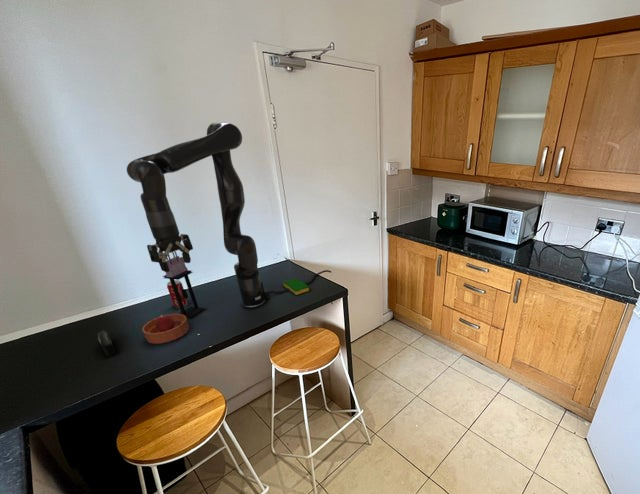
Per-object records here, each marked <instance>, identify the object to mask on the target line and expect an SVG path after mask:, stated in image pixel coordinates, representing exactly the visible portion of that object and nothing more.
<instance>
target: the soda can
mask: <svg viewBox="0 0 640 494" xmlns="http://www.w3.org/2000/svg"><path fill="white" fill-rule="evenodd" d="M174 281H175V283H176V286H177V289H178V292H179V295H180V298H181V300H182V303H183V306H184V308H185V307H186V306H188V305H189V300H188V298H186V299H185V298H183V295H182V292H181V290H183V289H185V288H184V285H183V283H182V281H180V279H179V280H176V279H174ZM166 288H167V290H168V293H169V296H170V299H171V302H172V304H173V306H174V308H176V309H180V307H179V304H178V302H177V299H176V296H175V293H174V290H173V288H172V285H171V282H170V281H168V282H167V283H166Z"/></svg>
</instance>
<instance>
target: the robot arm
mask: <svg viewBox="0 0 640 494" xmlns="http://www.w3.org/2000/svg"><path fill="white" fill-rule="evenodd" d="M242 142H243V134H242V132H241V130H240V129H239V127H238V126H236V125H235V124H232V123H230V122H212V123H210V124H209V125H208V127H207V129H206V135H205V136H201V137H198V138H195V139H193V140H188V141H184V142H181V143H177V144H174V145H172V146H170V147H169V146H168V147H167V148H165V149H162V150H160V151H158V152H156V153H152V154H149V155H145V156H144V155H143V156H142V157H138V158H135V159H133V160H132V161H130V162H128V164H127V166H126V173H127V175H128V177H129V178H130V179H131V180H132V181H135V182H136V183H140V185H141V189H142V193H141V194H140V201H141V203H142V206H143V210H144V212H145V217H146V220H147V223H148V226H149V229H150V232H151V234H152V237H153V239H154V240H155V243H153V244H147V245H146V248H147V251H148V255H149V258H150V261H151V262H152V263H158V264H159V266H160V270H161V271H163V272H164V273H166V272H169V271H170V270H169V267H168V264H167V262H166V261H167V259H166V258H168V256H170V254H172V252H174V251H176V252H177V251H180V252H181V257H183V259H184V262H185V264H190V263H191V260H192V259H191V256H190V251H192V250H194V247H193V244H192V242H191V238H190V236H189V234H187V233H186V234H185V233H181V234H180V230H179V227H178V225H177V221H176V218H175V215H174V213H173V211H172V208H171V205H170V201H169V199H168V197H167V186H166V185H167V184H166V177H165V174H173V173H177V172H179V171H181V170H183V169H185V168H188V167H189V166H191V165H193V164H195V163H198V162H200V161H202V160H204V159H206V158H209V157H211V158H212V162H213V166H214V167H213V168H214V173H215V180H216V186H217V194H218V200H219V203H220V213H221V219H222V229H223V230H222V232H223V245H224V246H223V247H224V248H225V250H226V252H227V253H228V254H231V255H233V256H237V261H238V262H236V263H235V264H234V265H233V269H234V273H235V278H236V281H237V285H238V289H239V293H240V296H241V300H242V305H243V307H244V308H246V309H255V308H259V307H261V306H263V305H264V304H265V303H266V300H267V299H269V298H270V297H271V295H270V294H282V293H286V292H289V291H290V289H287V288H286V289H284V290H281V291H276V290H267V289H265V288H264V284H263V281H261V277H260V272H259V268H258V264H259V263H258V262H259V257H258V253H257V252H258V251H257V245H256V242H255V240H254V238H253V237H251V236H250V235H247V234H243V233H242V230H241V224H240V222H241V217H242V213H243V211H244V208H245V203H246V202H245V201H246V198H245V190H244V185H243V183H242V180H241V178H240V176H239V174H238V173H237V171H236V169H235V167H234V164H233V161H232V153H231V151H232V150H236V149H238V148H239V147H240V146H241V145H242ZM323 273H332V270H329V269H326V270H321V271H320V272H317V273H315V274H314V275H313V276H312V277H311V280H309V281H307V282H305V283H304V282H303V283H304V284H306V285H307V286H308V285H309V284H311V283H312V282H313V281H314V280H315V278H316V277H317V276H319V275H321V274H323Z"/></svg>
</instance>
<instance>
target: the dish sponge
mask: <svg viewBox="0 0 640 494" xmlns="http://www.w3.org/2000/svg"><path fill="white" fill-rule="evenodd" d="M282 284H283V287H285V288H286V289H290V290H289V291H290V292H291V293H293V294H294V295H295V296H297V295H300V294H304V293H306V292H309V291H310V287H309V285H308V284H307V285H306V284H304V282H302V281H301V280H300V279H298V278H297V277H294V278H292V279H288V280H285V281H283V283H282Z"/></svg>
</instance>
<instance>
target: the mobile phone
mask: <svg viewBox="0 0 640 494" xmlns="http://www.w3.org/2000/svg"><path fill="white" fill-rule="evenodd" d="M110 337H111V336H110V335H109V333H108V332H107V331H106V330H100V331H98V332H97V340H98V342H99V345H100V346H101V348H102V350H103V351H104V353H105V355H106V356H110V357H111V356H113V355H115V354H116V353H117V351H116V350H115V347H114V345H113V342H112V340H111V338H110Z"/></svg>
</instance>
